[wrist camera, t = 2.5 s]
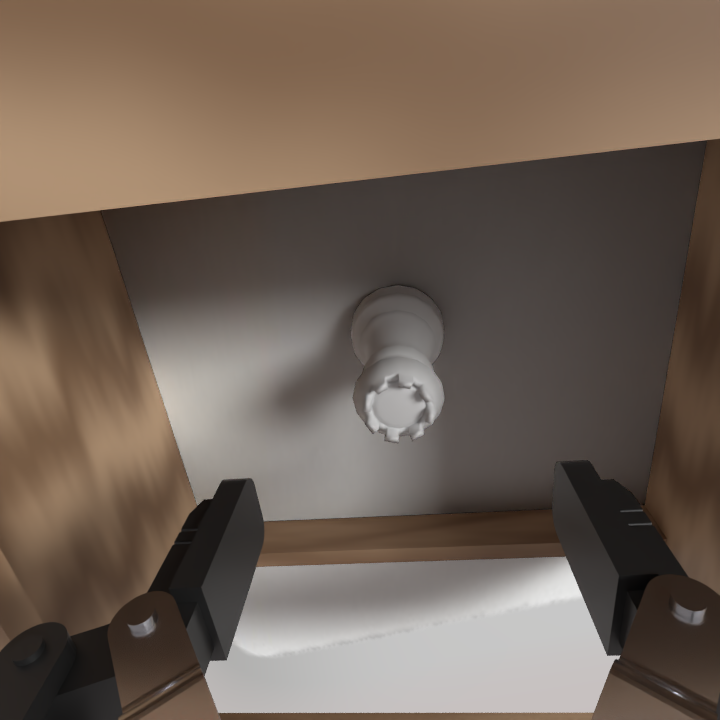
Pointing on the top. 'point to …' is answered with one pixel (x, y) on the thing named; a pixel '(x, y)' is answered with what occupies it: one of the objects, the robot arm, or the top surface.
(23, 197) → the box
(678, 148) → the top surface
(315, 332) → the top surface
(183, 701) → the robot arm
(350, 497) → the top surface
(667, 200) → the top surface
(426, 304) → the rook chess piece
